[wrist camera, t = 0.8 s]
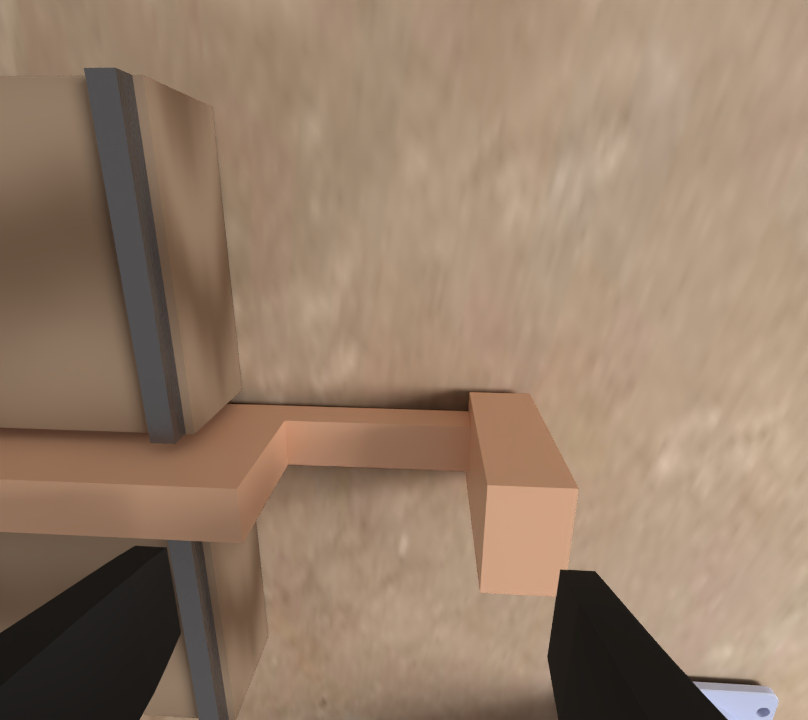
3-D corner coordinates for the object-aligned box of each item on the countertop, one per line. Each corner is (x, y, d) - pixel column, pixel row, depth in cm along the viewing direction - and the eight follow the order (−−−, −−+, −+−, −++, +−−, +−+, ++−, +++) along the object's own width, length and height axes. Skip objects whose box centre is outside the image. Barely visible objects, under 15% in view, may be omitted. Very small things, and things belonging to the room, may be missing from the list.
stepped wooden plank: (522, 472, 17) (563, 597, 11) (-90, 449, 18) (-312, 551, 13) (529, 394, 16) (578, 488, 10) (-116, 375, 17) (-367, 451, 12)
